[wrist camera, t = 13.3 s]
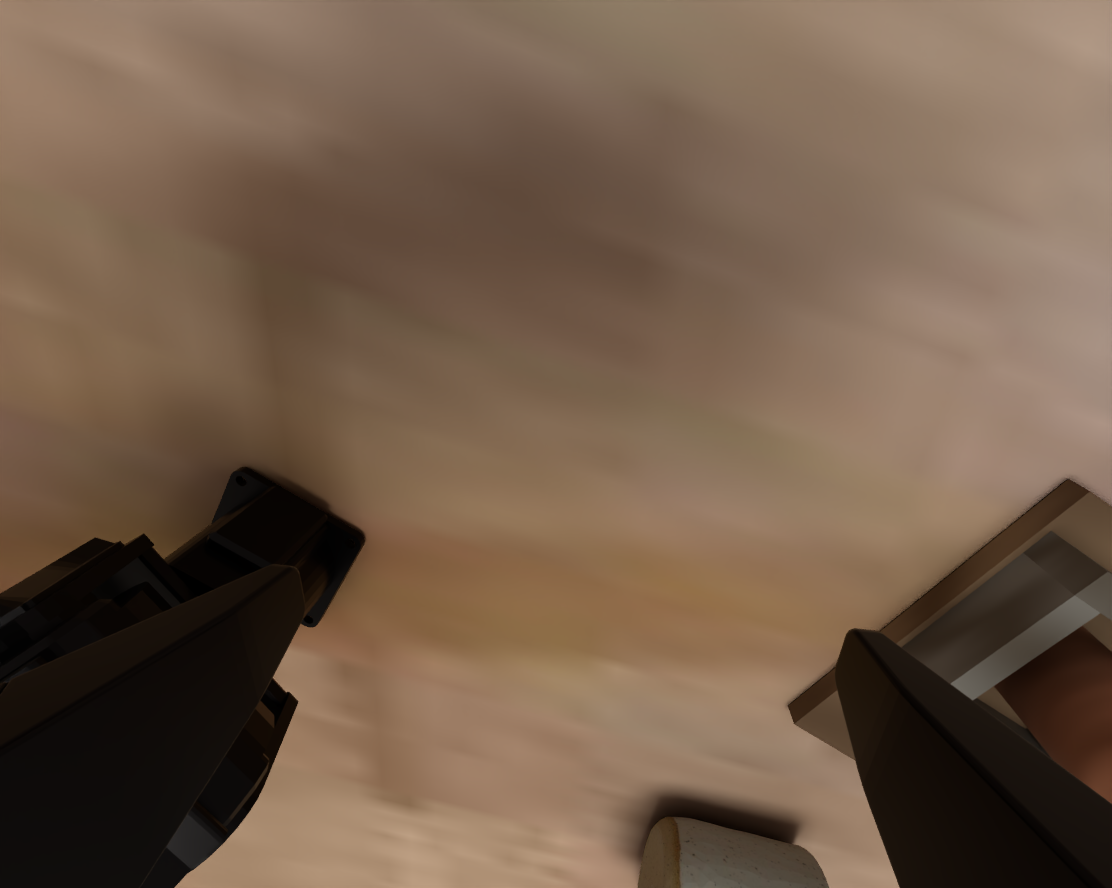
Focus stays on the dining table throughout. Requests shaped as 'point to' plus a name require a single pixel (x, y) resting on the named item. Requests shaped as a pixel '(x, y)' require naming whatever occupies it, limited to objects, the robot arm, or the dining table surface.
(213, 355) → the dining table surface
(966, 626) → the socket board
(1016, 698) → the peg
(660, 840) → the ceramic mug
